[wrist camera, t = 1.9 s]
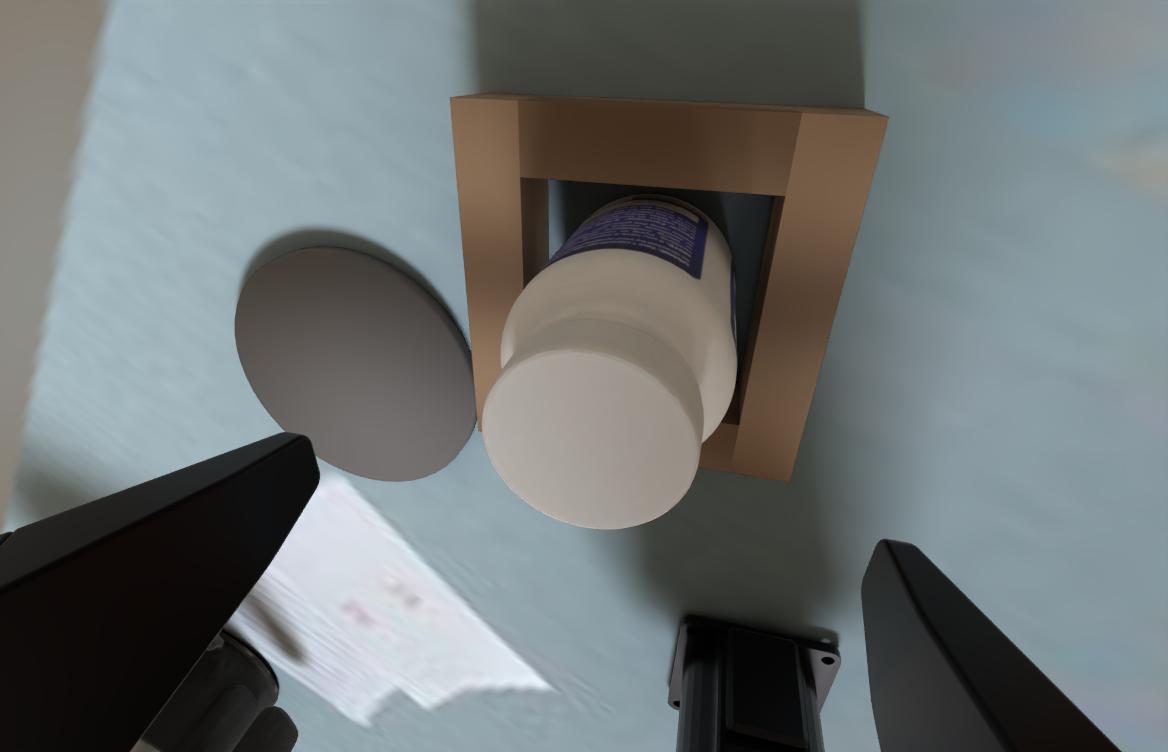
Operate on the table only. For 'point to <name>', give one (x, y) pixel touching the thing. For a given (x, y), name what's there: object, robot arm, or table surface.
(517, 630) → the table surface
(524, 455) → the pill bottle
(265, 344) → the mat
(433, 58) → the table surface
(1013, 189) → the table surface
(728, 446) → the collar block
